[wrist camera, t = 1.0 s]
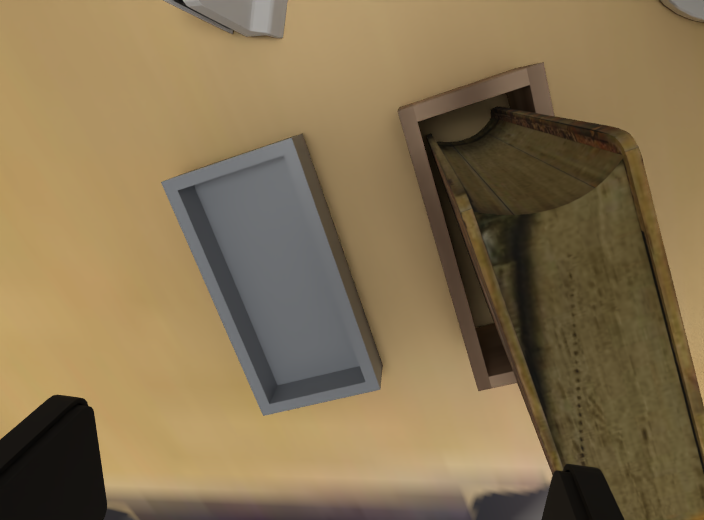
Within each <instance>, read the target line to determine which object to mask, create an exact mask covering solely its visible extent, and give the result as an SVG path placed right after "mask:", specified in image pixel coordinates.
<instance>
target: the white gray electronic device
mask: <svg viewBox="0 0 704 520" xmlns="http://www.w3.org/2000/svg"><path fill="white" fill-rule="evenodd" d="M163 1H165V2H167V3H169V4H171V5H173V6H175V7H178V8H180V9H182V10H184V11H186V12H188V13H190V14H192V15H194V16H196V17H198V18H200V19H202V20H204V21H206V22H208V23H210V24H212V25H214V26H216V27H218V28H220V29H222V30H224V31H227V32H229V33H231V34H233V30H234V31H236V32H238V33H240V34H242V35H244V36H246V37H247V36H262V35H267V36H271V37H274V38H283V33H284V25H285V17H286V9H287V1H288V0H163Z"/></svg>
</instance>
